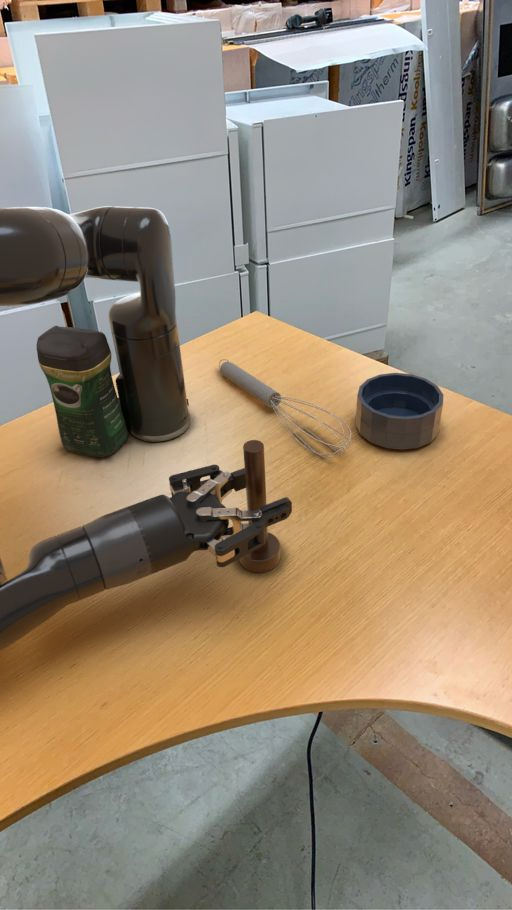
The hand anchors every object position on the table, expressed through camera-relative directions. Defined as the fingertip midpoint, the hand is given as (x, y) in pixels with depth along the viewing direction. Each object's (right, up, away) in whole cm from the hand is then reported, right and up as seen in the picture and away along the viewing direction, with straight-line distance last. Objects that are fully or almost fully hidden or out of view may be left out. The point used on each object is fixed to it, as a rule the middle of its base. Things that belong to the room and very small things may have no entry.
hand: (275, 488), depth 74 cm
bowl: (+19, +8, +25) cm, 32 cm away
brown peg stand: (-2, -9, +5) cm, 10 cm away
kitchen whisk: (+1, +10, +29) cm, 31 cm away
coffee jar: (-27, +6, +26) cm, 37 cm away
